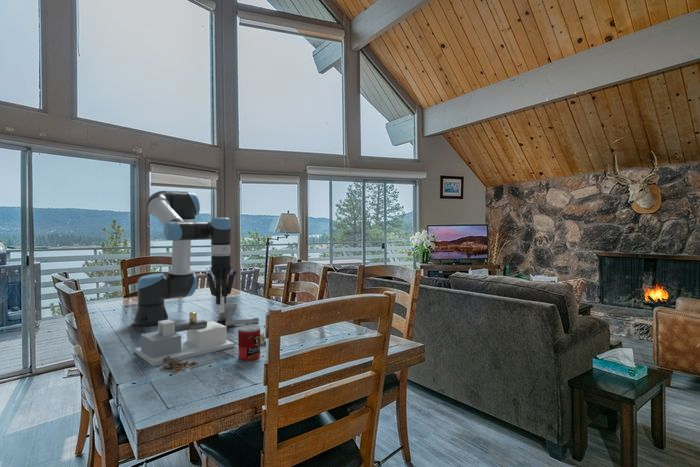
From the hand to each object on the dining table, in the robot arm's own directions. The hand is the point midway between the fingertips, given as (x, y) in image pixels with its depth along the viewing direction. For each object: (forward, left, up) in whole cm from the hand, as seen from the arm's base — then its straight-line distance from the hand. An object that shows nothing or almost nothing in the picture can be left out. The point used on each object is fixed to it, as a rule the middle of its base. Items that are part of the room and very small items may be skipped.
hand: (221, 311), depth 162 cm
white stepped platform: (0, -15, -12) cm, 19 cm away
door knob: (+14, +11, -13) cm, 22 cm away
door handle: (-23, +20, -13) cm, 33 cm away
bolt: (0, -13, -4) cm, 14 cm away
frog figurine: (+17, -25, -13) cm, 32 cm away
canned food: (+25, -2, -12) cm, 28 cm away
